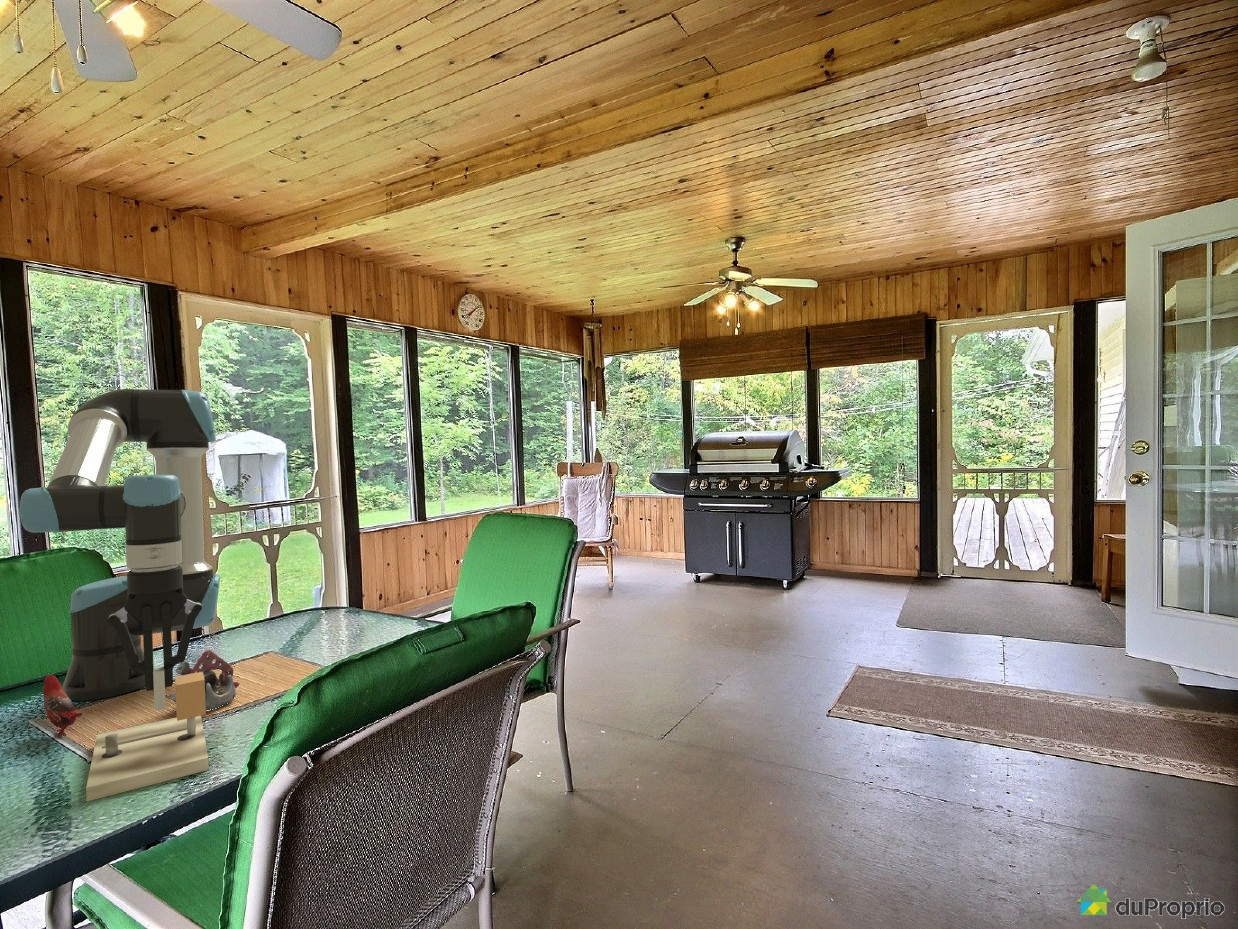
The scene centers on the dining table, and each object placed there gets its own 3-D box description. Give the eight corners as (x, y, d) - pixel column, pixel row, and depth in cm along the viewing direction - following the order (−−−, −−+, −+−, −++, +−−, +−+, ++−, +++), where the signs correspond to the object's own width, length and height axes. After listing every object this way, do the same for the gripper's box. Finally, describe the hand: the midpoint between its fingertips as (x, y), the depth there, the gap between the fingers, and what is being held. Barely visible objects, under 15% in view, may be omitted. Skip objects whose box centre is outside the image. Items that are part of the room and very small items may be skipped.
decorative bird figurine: (57, 723, 121) (55, 670, 121) (94, 746, 111) (91, 689, 111) (37, 729, 118) (35, 675, 118) (72, 753, 109) (70, 694, 108)
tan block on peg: (177, 731, 111) (175, 676, 111) (204, 725, 113) (202, 671, 113) (177, 741, 107) (175, 685, 106) (206, 735, 109) (204, 679, 109)
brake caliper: (208, 707, 121) (178, 654, 123) (175, 736, 124) (145, 684, 126) (258, 685, 132) (229, 637, 134) (226, 713, 135) (199, 665, 137)
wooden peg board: (97, 745, 111) (96, 717, 111) (200, 723, 120) (199, 696, 120) (86, 801, 93) (85, 767, 93) (208, 770, 102) (207, 739, 102)
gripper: (103, 576, 100) (109, 725, 101) (203, 566, 107) (207, 705, 108) (106, 568, 106) (111, 709, 107) (200, 559, 114) (204, 691, 114)
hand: (160, 707), depth 108 cm, fingers closed
